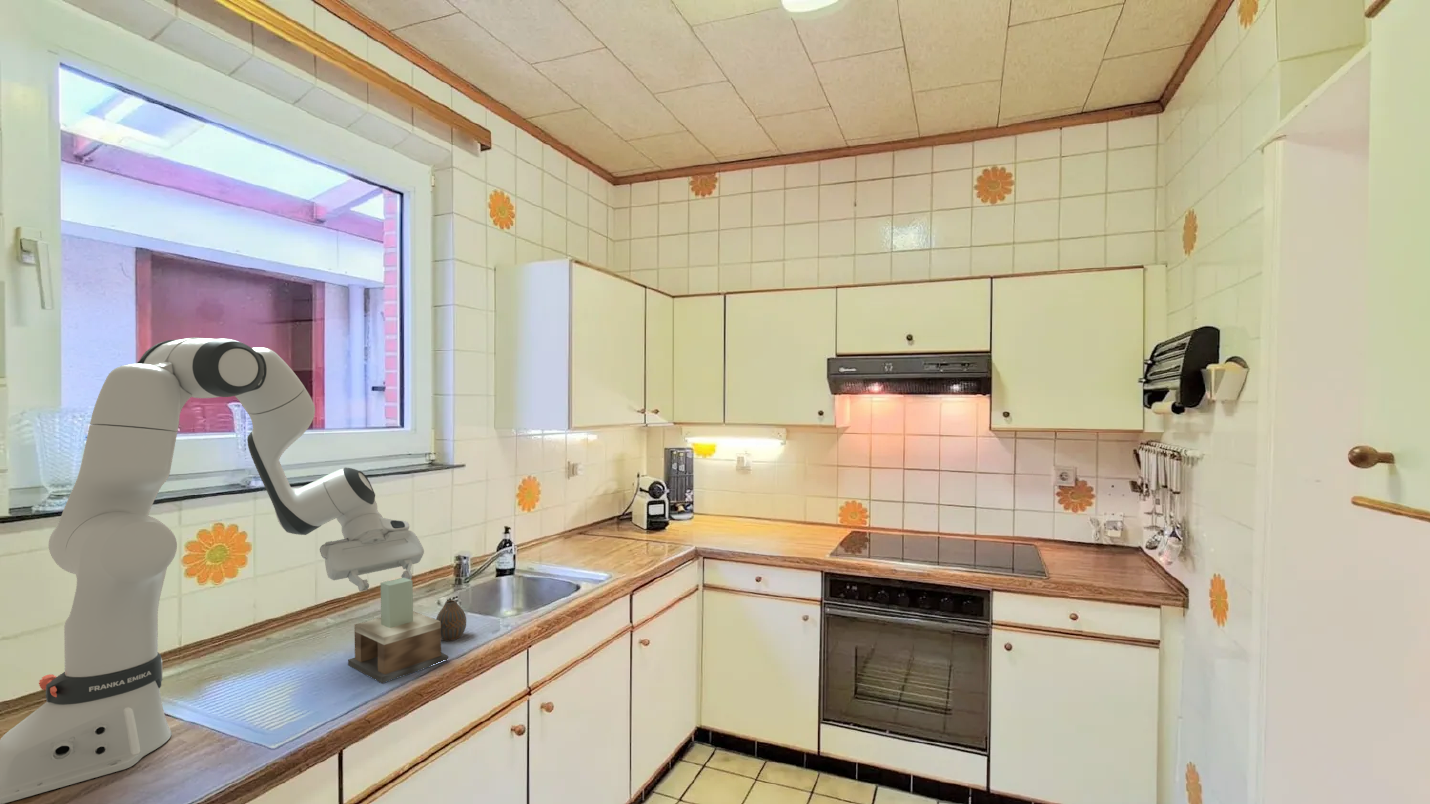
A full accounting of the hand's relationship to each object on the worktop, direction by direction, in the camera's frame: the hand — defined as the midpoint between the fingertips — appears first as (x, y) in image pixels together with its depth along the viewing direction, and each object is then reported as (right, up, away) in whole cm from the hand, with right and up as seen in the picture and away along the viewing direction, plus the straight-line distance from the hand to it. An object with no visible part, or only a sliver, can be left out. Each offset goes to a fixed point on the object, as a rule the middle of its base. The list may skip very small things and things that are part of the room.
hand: (387, 584), depth 140 cm
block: (+4, -8, -3) cm, 9 cm away
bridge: (+4, -16, -3) cm, 17 cm away
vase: (+9, -17, +12) cm, 22 cm away
